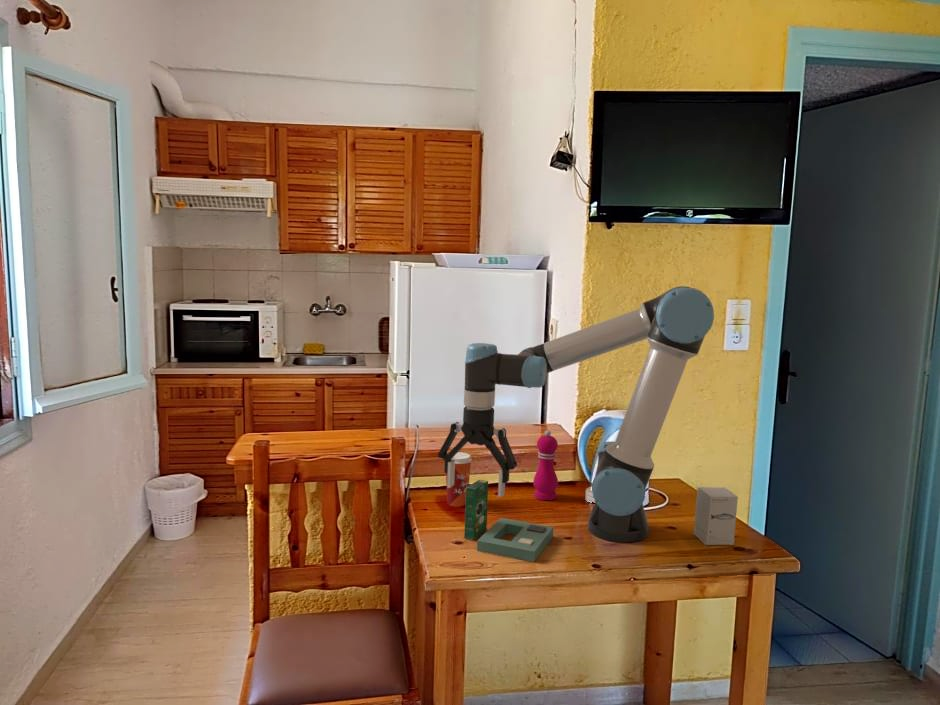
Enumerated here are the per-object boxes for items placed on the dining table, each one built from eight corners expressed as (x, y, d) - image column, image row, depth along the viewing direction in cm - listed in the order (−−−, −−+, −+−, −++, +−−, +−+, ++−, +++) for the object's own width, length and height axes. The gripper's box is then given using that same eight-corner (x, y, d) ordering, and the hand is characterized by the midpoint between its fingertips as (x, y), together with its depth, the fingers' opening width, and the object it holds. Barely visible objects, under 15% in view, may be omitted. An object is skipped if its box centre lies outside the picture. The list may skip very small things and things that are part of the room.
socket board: (553, 536, 167) (553, 525, 166) (533, 562, 152) (534, 549, 152) (500, 527, 172) (500, 516, 172) (477, 550, 157) (477, 538, 157)
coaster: (618, 510, 187) (618, 498, 186) (582, 505, 190) (582, 493, 189) (621, 499, 196) (622, 487, 196) (587, 494, 199) (588, 483, 199)
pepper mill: (539, 502, 191) (542, 434, 188) (528, 494, 197) (530, 428, 195) (562, 500, 193) (565, 432, 191) (550, 492, 200) (552, 426, 197)
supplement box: (705, 546, 163) (709, 496, 162) (693, 534, 171) (696, 486, 169) (734, 545, 164) (738, 496, 162) (721, 533, 171) (724, 486, 170)
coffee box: (477, 527, 171) (478, 478, 170) (487, 529, 170) (489, 480, 168) (463, 538, 164) (464, 487, 163) (473, 541, 163) (475, 489, 161)
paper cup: (461, 510, 183) (462, 460, 182) (438, 504, 187) (439, 456, 186) (476, 502, 190) (477, 454, 188) (453, 496, 194) (454, 449, 192)
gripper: (532, 410, 162) (528, 494, 165) (439, 398, 171) (436, 478, 174) (522, 416, 155) (518, 503, 158) (426, 403, 164) (423, 486, 167)
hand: (475, 490), depth 166 cm, fingers open, 13 cm apart
